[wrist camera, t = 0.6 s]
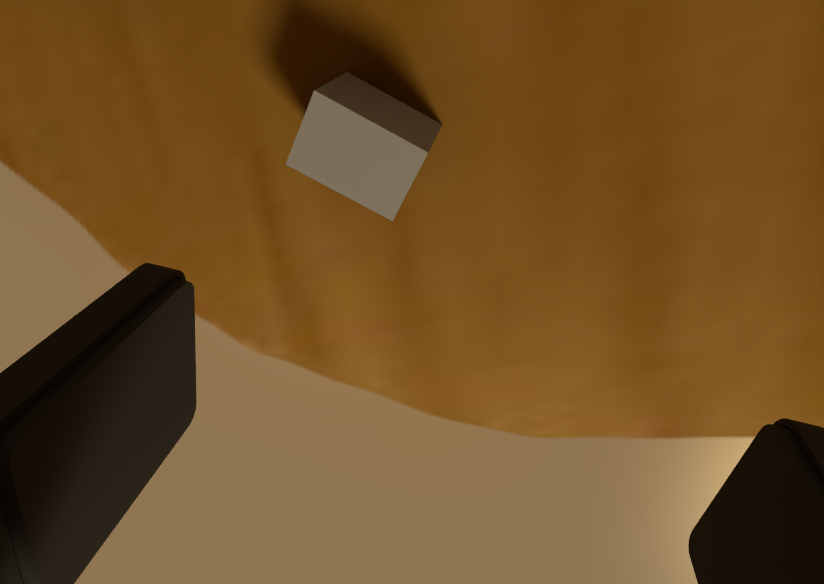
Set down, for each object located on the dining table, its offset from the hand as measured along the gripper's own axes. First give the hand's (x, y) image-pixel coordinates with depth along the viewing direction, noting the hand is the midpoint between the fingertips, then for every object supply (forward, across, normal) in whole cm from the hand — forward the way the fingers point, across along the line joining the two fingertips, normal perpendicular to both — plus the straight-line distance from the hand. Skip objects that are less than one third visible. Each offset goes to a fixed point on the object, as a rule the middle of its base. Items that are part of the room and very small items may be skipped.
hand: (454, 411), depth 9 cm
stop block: (+25, +6, +3) cm, 26 cm away
